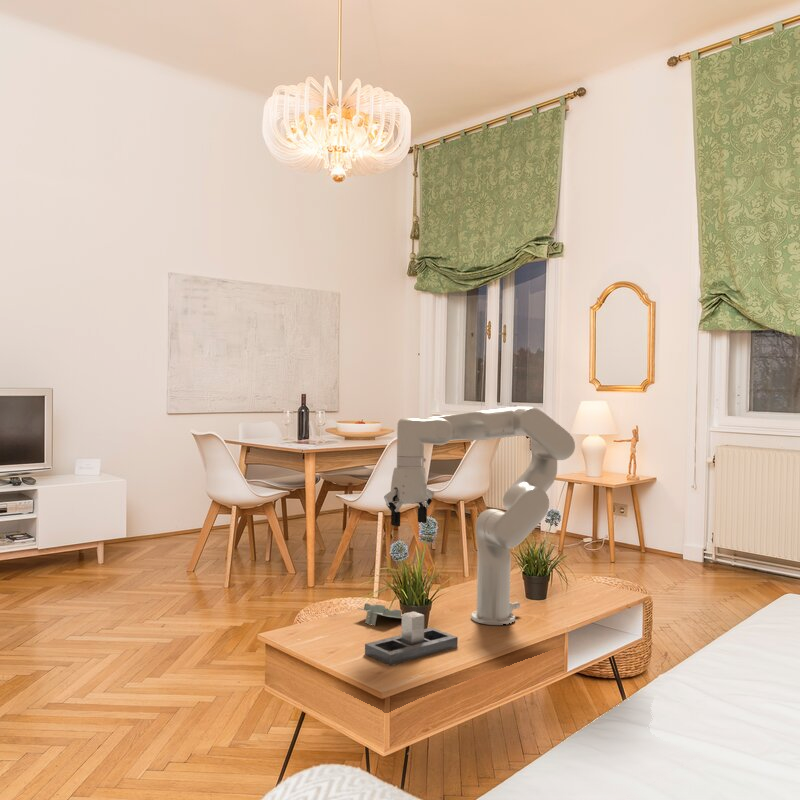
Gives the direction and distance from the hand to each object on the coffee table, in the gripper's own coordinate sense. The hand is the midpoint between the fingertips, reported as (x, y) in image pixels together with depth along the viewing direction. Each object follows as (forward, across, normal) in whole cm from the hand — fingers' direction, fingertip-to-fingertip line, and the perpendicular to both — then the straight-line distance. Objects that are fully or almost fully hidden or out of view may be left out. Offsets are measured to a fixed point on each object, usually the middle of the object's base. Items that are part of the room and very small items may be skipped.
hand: (409, 524), depth 201 cm
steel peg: (+28, +12, +16) cm, 35 cm away
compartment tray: (+28, +12, +16) cm, 35 cm away
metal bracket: (+29, +2, -8) cm, 30 cm away
